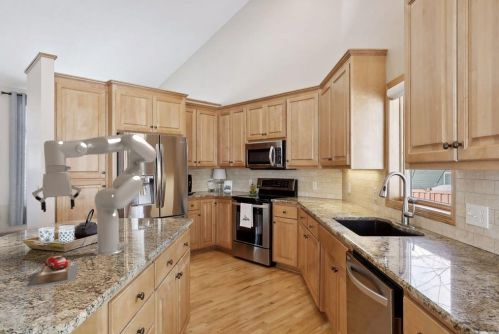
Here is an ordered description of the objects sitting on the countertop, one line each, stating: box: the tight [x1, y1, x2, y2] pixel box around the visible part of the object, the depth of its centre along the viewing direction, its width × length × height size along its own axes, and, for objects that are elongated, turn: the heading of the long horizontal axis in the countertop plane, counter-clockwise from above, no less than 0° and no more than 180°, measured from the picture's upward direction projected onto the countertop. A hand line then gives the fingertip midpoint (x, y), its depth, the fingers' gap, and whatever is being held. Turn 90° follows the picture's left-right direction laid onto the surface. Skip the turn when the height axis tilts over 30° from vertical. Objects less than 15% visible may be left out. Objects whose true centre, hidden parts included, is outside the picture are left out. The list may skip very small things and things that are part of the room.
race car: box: [44, 255, 68, 270], centre depth 110 cm, size 13×5×4 cm, turn 49°
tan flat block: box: [37, 259, 72, 285], centre depth 110 cm, size 9×15×3 cm, turn 28°
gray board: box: [27, 264, 79, 289], centre depth 110 cm, size 14×19×1 cm
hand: (58, 210), depth 121 cm, fingers open, 9 cm apart
